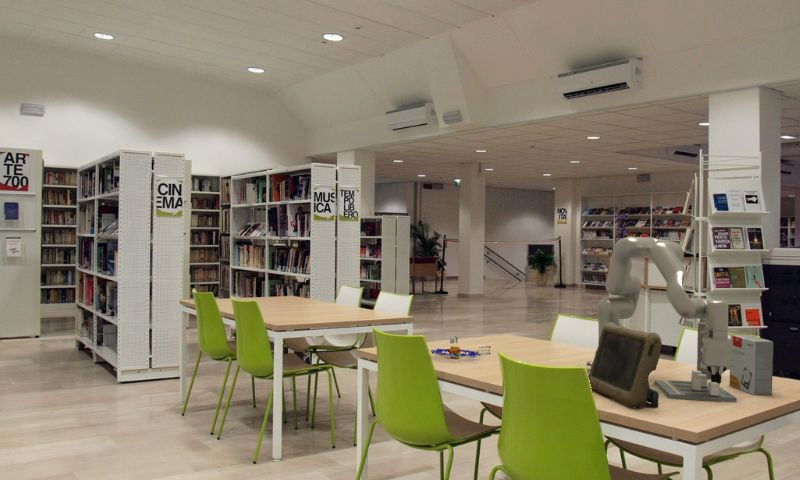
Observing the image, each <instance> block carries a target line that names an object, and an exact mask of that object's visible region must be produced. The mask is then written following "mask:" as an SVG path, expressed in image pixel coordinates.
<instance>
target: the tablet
mask: <svg viewBox="0 0 800 480" xmlns="http://www.w3.org/2000/svg"><path fill="white" fill-rule="evenodd" d="M598 338H599V337H598ZM662 345H663V344H662V339H661V336H660V335H659V333H657V332H646V331H641V330H636V329H632V328H627V327H626V326H625V325H621V326H617V325H615V324H614V323H613V322H609V323H606V324H605V325H604V327H603V330H602V333H601V336H600V338H599V345H598V346H597V349H596V351H595V353H594V359H593V361H592V362H593V363H592V366H590V370H589V373H588V376H587V379H588V378H589V380H590V384H591V387H592V389H591V390H594V391H595V392H597V393H600V394H602V395H605V396H607V397H609V398H611V399H612V400H613V399H614V400H615V401H617V402H620V403H622V404H624V405H626V406H628V407H629V408H636V410H637V409H638V410H640V409H643V408H644V407H645V406H646V404H647V403H650V404H651V405H652V406H653V407H654V408H659V399H660V394H659V391H656V390H654V389H652V388H651V387H650V381H649V376H650V374H651V373H652V372H653V371H656V370H657V366H658V364H659V361H660V357H661V350H662V349H661V348H662Z"/></svg>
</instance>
